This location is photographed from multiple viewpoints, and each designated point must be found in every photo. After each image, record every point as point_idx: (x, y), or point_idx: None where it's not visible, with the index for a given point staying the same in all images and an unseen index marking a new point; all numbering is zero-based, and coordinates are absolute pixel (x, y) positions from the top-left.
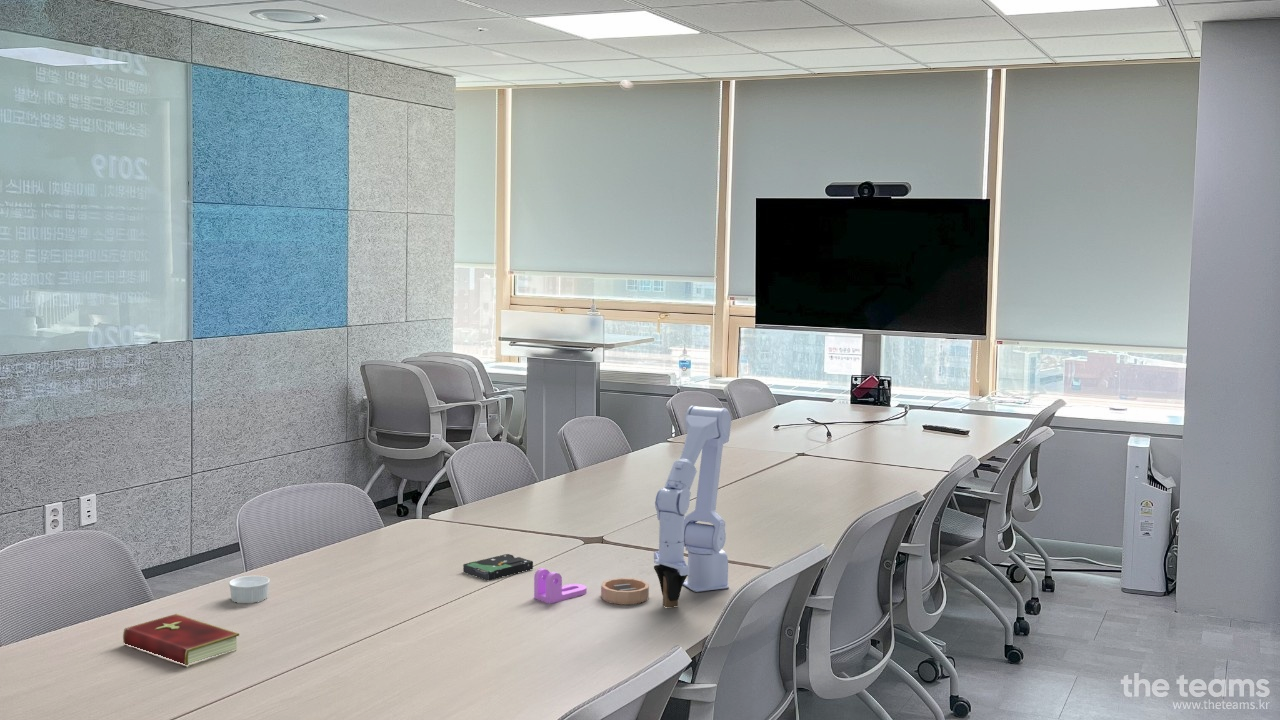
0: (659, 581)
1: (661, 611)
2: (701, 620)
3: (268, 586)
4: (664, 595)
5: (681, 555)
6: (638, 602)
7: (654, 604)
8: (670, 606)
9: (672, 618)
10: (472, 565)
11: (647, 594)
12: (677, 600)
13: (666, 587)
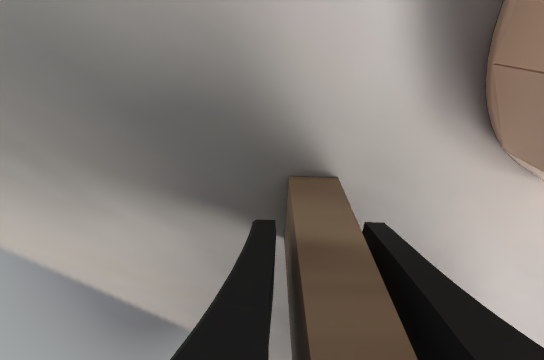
0: (483, 306)
1: (241, 121)
2: (31, 243)
3: None
4: (329, 224)
5: None
6: (496, 45)
7: (394, 146)
8: (287, 205)
9: (77, 121)
10: None
11: (525, 158)
12: (286, 263)
13: (305, 288)
